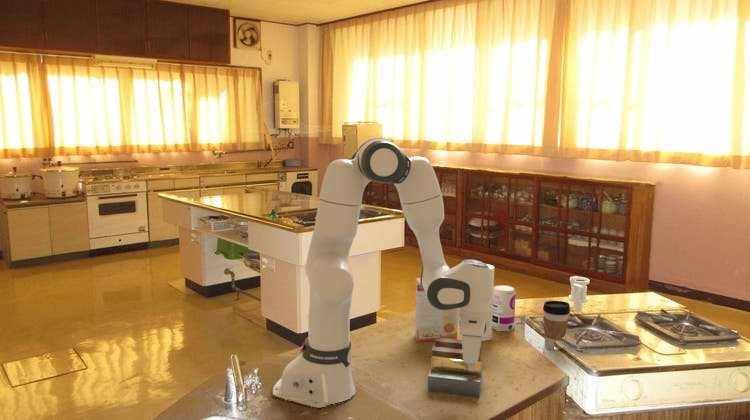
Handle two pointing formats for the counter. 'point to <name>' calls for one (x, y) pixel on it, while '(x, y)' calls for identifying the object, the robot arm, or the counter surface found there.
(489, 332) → the cylindrical container
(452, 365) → the brass axle
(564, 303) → the coffee cup
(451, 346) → the walnut bearing block
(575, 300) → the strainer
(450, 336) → the cracker box
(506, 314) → the supplement can
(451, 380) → the iron V-block
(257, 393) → the counter surface
